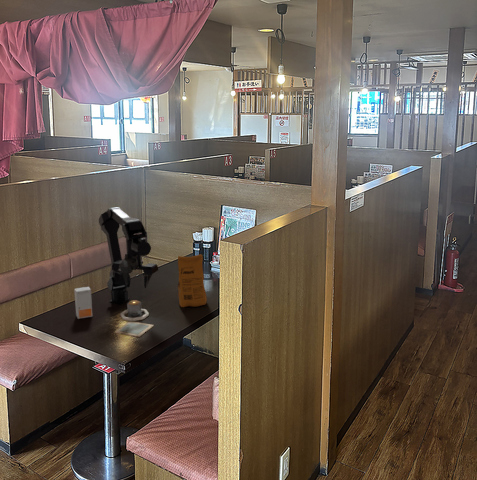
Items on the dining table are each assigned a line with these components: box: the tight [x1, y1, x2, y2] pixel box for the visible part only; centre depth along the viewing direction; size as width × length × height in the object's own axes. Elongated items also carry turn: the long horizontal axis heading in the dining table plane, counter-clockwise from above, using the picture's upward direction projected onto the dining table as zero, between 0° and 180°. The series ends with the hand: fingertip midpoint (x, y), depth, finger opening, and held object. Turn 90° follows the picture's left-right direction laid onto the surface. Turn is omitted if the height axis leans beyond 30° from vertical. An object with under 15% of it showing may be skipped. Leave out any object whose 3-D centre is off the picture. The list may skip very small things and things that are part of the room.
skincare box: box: [73, 286, 93, 320], centre depth 211 cm, size 6×4×12 cm
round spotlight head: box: [126, 299, 143, 318], centre depth 212 cm, size 6×7×6 cm
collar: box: [120, 308, 150, 322], centre depth 213 cm, size 11×11×1 cm
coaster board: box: [113, 320, 155, 338], centre depth 200 cm, size 11×11×1 cm
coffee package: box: [177, 254, 208, 308], centre depth 223 cm, size 10×12×22 cm
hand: (135, 286), depth 211 cm, fingers open, 9 cm apart
